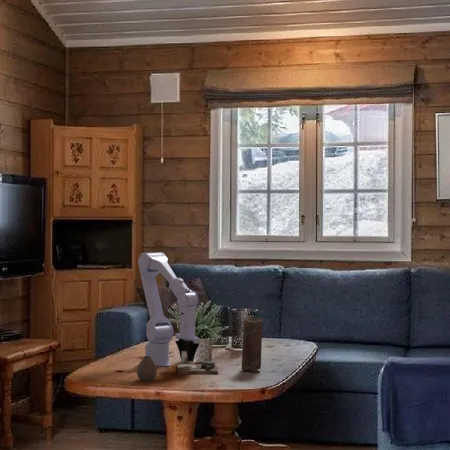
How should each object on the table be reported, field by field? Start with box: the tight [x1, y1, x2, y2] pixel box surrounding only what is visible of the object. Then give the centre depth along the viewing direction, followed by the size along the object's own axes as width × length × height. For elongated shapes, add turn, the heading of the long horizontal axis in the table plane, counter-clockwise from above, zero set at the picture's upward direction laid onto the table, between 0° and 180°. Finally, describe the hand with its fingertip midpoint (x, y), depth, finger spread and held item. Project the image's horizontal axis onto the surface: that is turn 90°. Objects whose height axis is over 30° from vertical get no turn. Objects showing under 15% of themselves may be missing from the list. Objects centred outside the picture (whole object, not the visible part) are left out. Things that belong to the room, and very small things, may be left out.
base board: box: [177, 360, 219, 375], centre depth 342 cm, size 15×14×3 cm
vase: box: [136, 355, 158, 383], centre depth 320 cm, size 7×7×9 cm
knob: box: [180, 350, 195, 364], centre depth 342 cm, size 5×5×5 cm
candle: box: [241, 317, 264, 372], centre depth 343 cm, size 8×7×20 cm
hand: (187, 360), depth 342 cm, fingers closed on knob, 5 cm apart
